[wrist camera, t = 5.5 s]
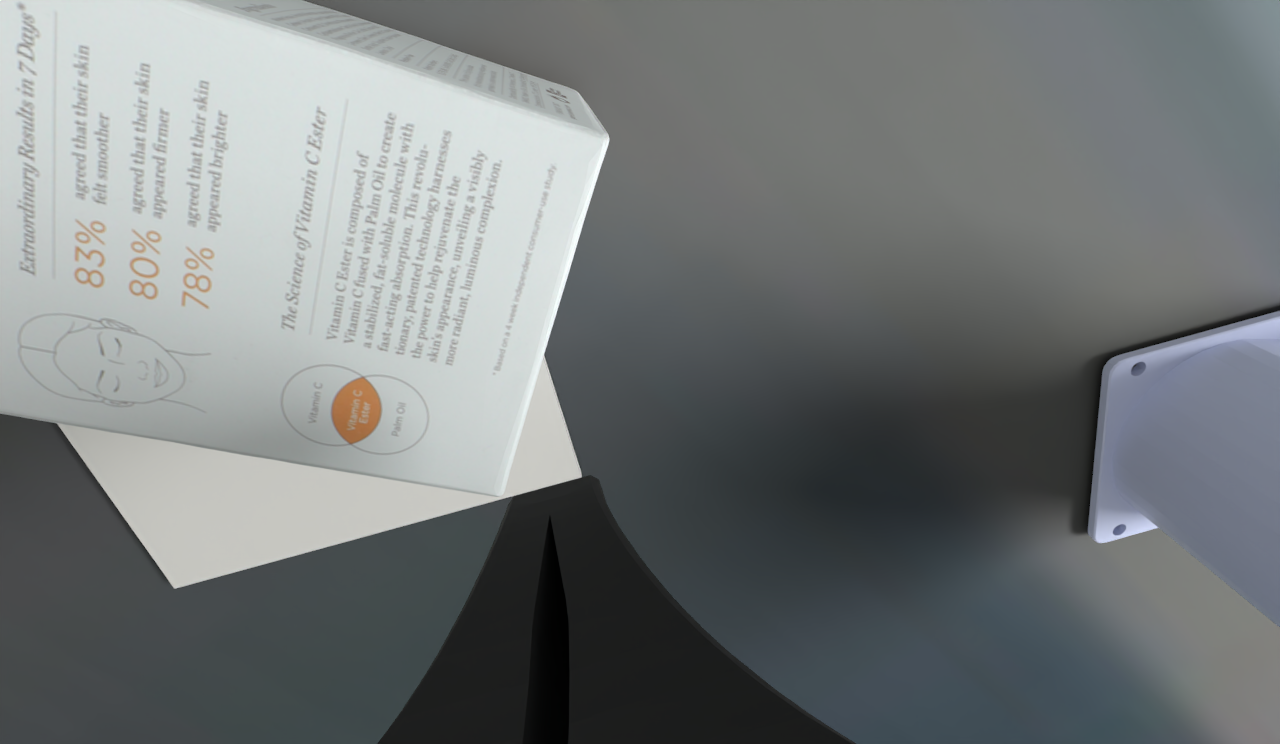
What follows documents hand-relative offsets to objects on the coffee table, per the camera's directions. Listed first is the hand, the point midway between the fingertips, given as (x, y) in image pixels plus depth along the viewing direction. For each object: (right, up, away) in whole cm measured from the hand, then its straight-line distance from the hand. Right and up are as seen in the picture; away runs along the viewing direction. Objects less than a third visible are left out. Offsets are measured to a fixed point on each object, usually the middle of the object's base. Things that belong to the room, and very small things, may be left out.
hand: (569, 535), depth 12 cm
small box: (-1, +4, +5) cm, 7 cm away
